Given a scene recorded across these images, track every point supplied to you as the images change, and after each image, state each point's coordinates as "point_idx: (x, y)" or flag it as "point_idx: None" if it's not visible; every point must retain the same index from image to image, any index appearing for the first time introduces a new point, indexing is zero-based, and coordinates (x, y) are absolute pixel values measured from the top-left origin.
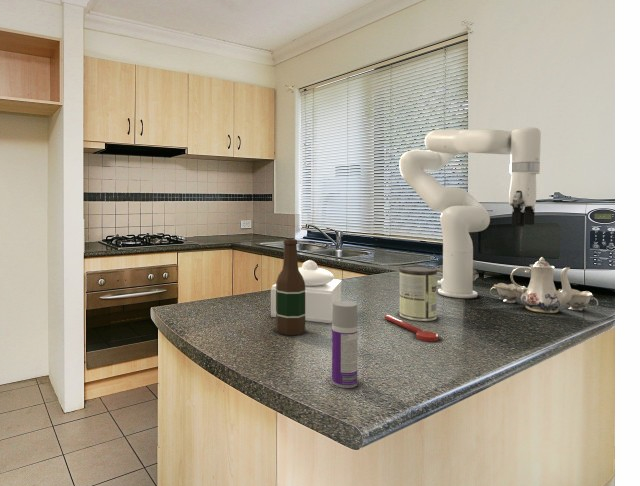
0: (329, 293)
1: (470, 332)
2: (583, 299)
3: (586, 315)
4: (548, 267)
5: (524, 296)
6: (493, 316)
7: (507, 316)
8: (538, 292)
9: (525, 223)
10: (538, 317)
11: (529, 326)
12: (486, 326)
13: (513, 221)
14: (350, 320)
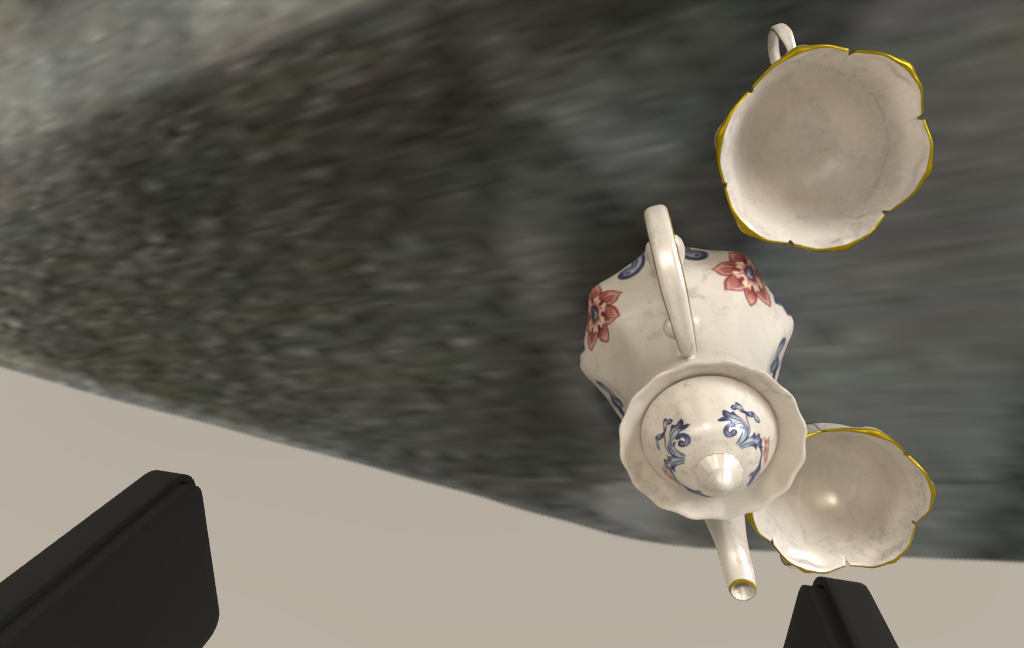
0: None
1: (47, 167)
2: (767, 519)
3: None
4: (672, 483)
5: (637, 271)
6: (357, 170)
7: (407, 221)
8: (611, 356)
9: (788, 637)
10: (493, 334)
11: (309, 325)
12: (172, 192)
13: (98, 537)
14: None
